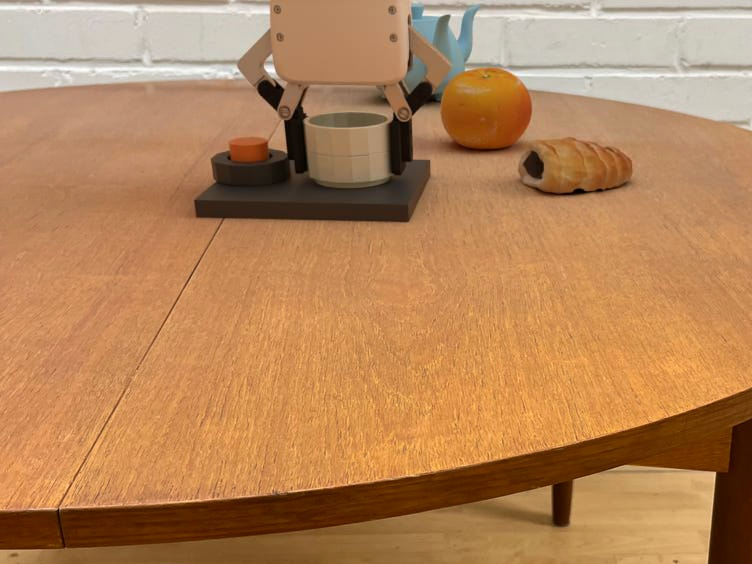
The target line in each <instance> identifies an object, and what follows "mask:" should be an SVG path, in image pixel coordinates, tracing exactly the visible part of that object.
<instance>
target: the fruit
mask: <svg viewBox="0 0 752 564" xmlns="http://www.w3.org/2000/svg"><path fill="white" fill-rule="evenodd" d="M532 103H533V102H532V99H531V96H530V93H529V90H528V88H527V86H526V85H525V83H523V81H522V80H521V79H520V78H519V77H518V76H517V75H515V74H513V73H512V72H509V71H508V70H504V69H501V68H498V67H480V68H474V69H468V70H465V72H462V73H460V74H458V75H457V76H455V77H454V78H453V79H452V80H451V81H450V82H449V83H448V85H447V86H446V88H445V90H444V92H443V96H442V100H441V101H440V119H441V123H442V126H443V128H444V130H445V132H446V133H447V134H448V136H449V137H450V138H451V139H452V141H454V142H456V143H457V144H458V145H460V146H462V147H464V148H466V149H472V150H490V151H491V150H496V149H503V148H507V147H511V146H512V145H513V144H515V143H516V142H517V141H518V140H519V139H520V138H521V137H522V136H523V135H524V134H525V132H526V130H527V129H528V127H529V124H530V122H531V118H532V114H533V104H532Z"/></svg>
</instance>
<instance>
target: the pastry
mask: <svg viewBox="0 0 752 564" xmlns="http://www.w3.org/2000/svg"><path fill="white" fill-rule="evenodd" d="M517 172H518V174H519V176H520V178H521V183H522V184H523V185H525V186H526V187H530V188H537V189H538V190H540V191H542V192H545V193H554V194H556V195H560V194H565V193H571V194H572V193H573V192H574V190H577V189H582V190H583V191H584V192H594V191H596V190H598V189H600V190H601V189H602V191H605V190H606V189H611V188H617V187H619V186H620V185H623V184H625V183H626V181H630V180H631V179H632V176H633V173H634V170H633V161H632V158H630V157H629V156H628V155H626V154H625V153H624V152H622V151H621V150H620V149H619V148H616V147H615V146H610V145H606V146H602V145H600V143H598V142H596V141H589V140H581V139H579V140H578V139H576V138H575V137H570V136H567V137H564V138H561V139H558V138H557V139H538V140H532V141H529V142H527V144H526V145H525V150H524V151H523V152H522V154H521V155H520V160H519V162H518V167H517Z"/></svg>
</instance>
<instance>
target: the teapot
mask: <svg viewBox="0 0 752 564" xmlns="http://www.w3.org/2000/svg"><path fill="white" fill-rule="evenodd" d="M483 5H484V4H483V3H478V4H475V5H473V6H471V7H468V8H467V9H466V10H465V12H464V13H463V16H462V17H461V25H460V31H459V36H458V39H457V37H456V36H455V34H454V33H453V31H452V29H451V27H450V26H449V23H450V20H451V17H452V14H443V15H441V16H436V15H423V13H424V10H425V5H424V4H419V3H413V4H412V3H411V12H412V24H413V27H414V28H415V29H416V30H417V31H418V32H419V33H420V34H421V35H422V36H424V37H425V38H426V39H427V40H428V41H429V42H430V43H431V44H432V45H433V46H435V47H436V48H437V49H438V50H439V51H440V52H441V53H442V54H443V55H444V56H446V57H447V58H448V59H449V60H450V61H451V64H452V67H451V70H450V71H449V73H448V74H447V75H446V77H445V78H444V79H443V81H442V82H441V83H440V85H439V86H438V87H437V88H436V90H435V91H434V92H433V94H432V95H431V96H433V95H434V97H435V101H437V102H441V100H442V96H443V92H444V90H445V88H446V86H447V85H448V83H449V82H450V81H451V80H452V79H453V78H454V77H455V76H457V75H458V74H460V73H462V72H465V71H466V65H465V64H466V63H467V62H468V60H469V59H470V57H471V55H472V51H473V42H474V41H473V40H474V39H473V37H474V36H473V33H474V32H473V26H474V20H475V16H476V14H477V13H478V11H479V10H480V8H481V7H482V6H483ZM427 70H428V69H427V66H426V65H425V64H424V63H423V62H422V61H421V60H420V59H419V58H418V57H417V56H415V55H414V64H413V68H412V70H411V71H410V72H409V73H407V74H406V76H405V78H404V79H403V81H404V83H405V84H406V86H407V88H408V90H409V92H410V93H411V92H412V91H413V90H414V88H415V87H416V86H417V85H418V84H419V83H420V82H421V81H422V79H423V78H424V77H425V75H426V74H427ZM375 87H376V89H377V90H379V91H381V92H383V90H382V88H381V87H380V86H375ZM380 98H381V99H386V100H387V98H386V96H385V94H384V92H383V93H382V95H381V97H380Z"/></svg>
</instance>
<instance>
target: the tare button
mask: <svg viewBox="0 0 752 564" xmlns="http://www.w3.org/2000/svg"><path fill="white" fill-rule="evenodd" d="M228 147H229V150H230V156H231V161H236V162H254V161H262V160H266V159H270V157H269V149H270V148H269V140H268V139H267V138H264V137H259V136H244V137H236V138H232V139H230V140H229V141H228Z"/></svg>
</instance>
